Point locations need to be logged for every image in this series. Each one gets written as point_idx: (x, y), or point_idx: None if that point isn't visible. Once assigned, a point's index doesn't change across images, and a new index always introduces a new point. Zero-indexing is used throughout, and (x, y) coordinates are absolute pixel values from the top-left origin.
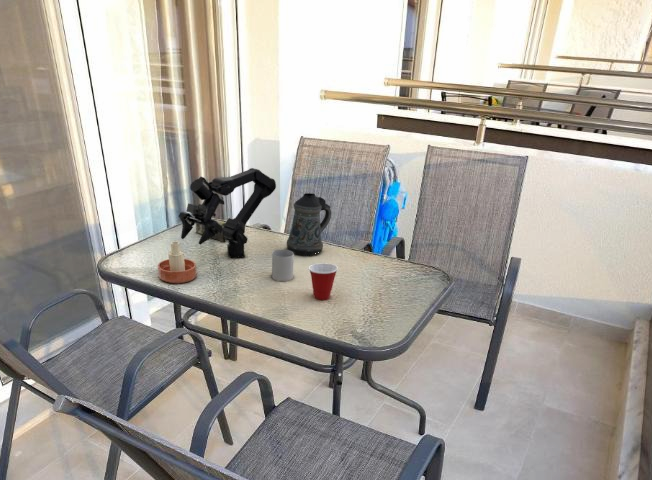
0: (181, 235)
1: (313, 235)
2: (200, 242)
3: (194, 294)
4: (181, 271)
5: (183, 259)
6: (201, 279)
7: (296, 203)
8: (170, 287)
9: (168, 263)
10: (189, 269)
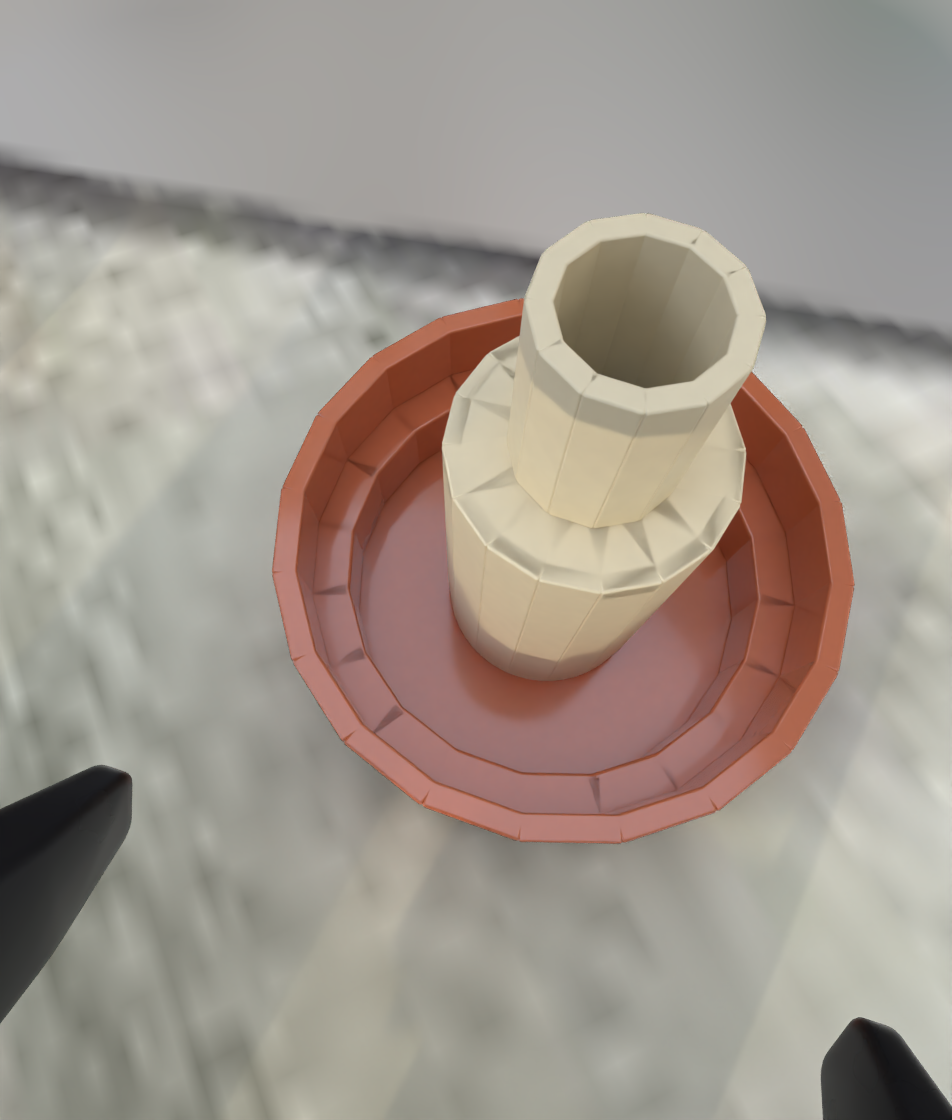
0: (942, 1102)
1: None
2: (54, 805)
3: (171, 278)
4: (383, 358)
5: (446, 503)
6: (240, 642)
7: None
8: None
9: (783, 683)
10: (310, 457)
